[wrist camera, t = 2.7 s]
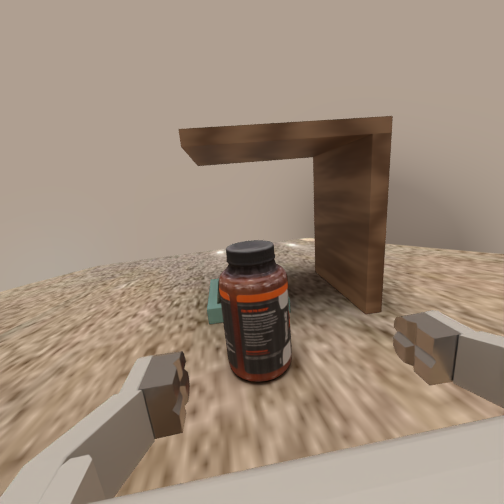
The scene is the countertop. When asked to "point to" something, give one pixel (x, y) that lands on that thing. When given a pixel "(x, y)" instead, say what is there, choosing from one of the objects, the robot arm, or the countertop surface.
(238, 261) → the supplement bottle
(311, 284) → the countertop surface
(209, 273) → the countertop surface
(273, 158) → the wooden l-shaped bracket
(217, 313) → the socket
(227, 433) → the countertop surface
